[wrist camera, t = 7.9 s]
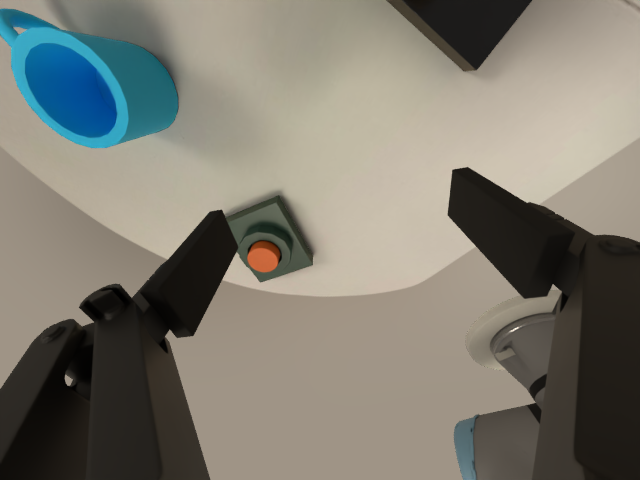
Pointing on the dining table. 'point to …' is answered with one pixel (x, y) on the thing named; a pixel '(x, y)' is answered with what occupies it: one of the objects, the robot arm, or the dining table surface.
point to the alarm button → (263, 256)
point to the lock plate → (463, 25)
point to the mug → (88, 82)
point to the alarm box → (270, 236)
